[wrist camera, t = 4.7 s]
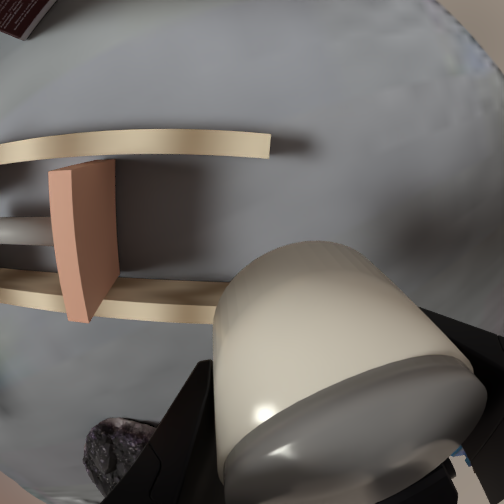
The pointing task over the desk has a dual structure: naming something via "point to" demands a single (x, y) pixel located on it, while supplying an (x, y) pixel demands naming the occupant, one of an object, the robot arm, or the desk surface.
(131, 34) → the desk surface
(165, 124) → the desk surface
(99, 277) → the pusher
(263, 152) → the lane
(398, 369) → the jar
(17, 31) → the supplement box
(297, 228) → the desk surface
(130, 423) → the dark rock
